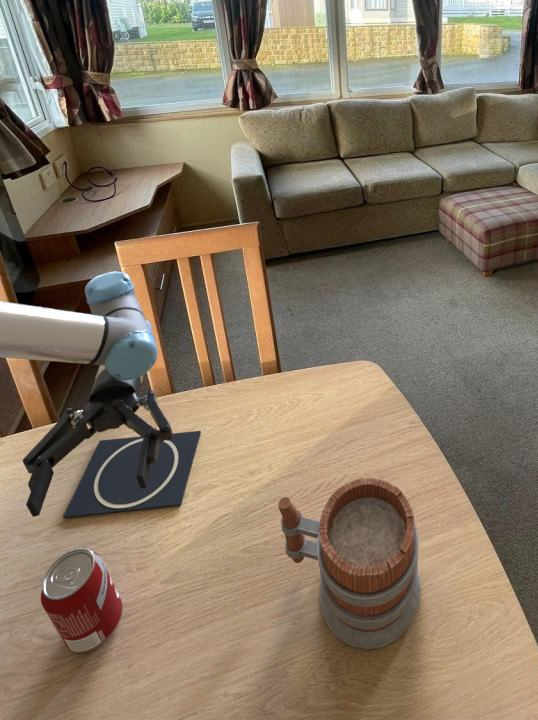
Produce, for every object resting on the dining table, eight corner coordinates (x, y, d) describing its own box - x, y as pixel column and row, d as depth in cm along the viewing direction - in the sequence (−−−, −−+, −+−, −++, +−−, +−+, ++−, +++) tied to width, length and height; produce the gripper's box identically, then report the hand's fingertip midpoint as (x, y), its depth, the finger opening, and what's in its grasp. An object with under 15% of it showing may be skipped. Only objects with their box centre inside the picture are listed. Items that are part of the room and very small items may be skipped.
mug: (408, 667, 59) (409, 601, 53) (266, 619, 64) (251, 553, 57) (428, 548, 72) (431, 483, 65) (308, 515, 76) (299, 451, 70)
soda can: (107, 656, 61) (79, 605, 55) (54, 655, 61) (21, 604, 56) (133, 594, 67) (110, 543, 62) (85, 593, 67) (58, 542, 62)
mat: (63, 518, 76) (62, 516, 76) (100, 441, 89) (99, 439, 89) (180, 505, 78) (180, 503, 78) (200, 432, 90) (200, 430, 90)
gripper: (196, 382, 90) (188, 487, 72) (45, 415, 84) (-6, 539, 66) (188, 352, 87) (178, 454, 68) (30, 383, 81) (-28, 504, 62)
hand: (88, 496), depth 67 cm, fingers open, 13 cm apart
